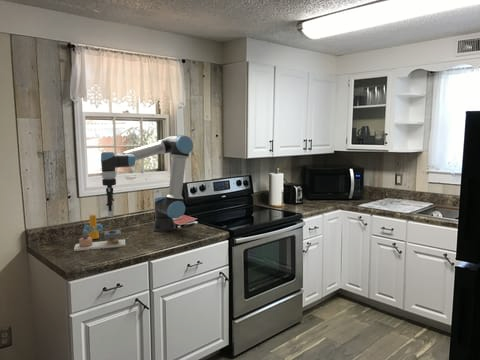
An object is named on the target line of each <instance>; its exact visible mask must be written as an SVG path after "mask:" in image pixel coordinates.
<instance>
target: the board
mask: <svg viewBox="0 0 480 360" xmlns="http://www.w3.org/2000/svg"><path fill="white" fill-rule="evenodd" d="M119 247H121V248H122V247H126V239H125V238H124V239H119V243H117V244H107V240H105V241H102V240H101V241H92V246H89V247H80V246H79V243H75V245H74V247H73V252H80V251H89V250H90V249H91V250H98V249H99V250H100V249H101V248H102V249H112V248H119ZM91 250H90V251H91Z"/></svg>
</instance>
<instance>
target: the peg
mask: <svg viewBox="0 0 480 360" xmlns="http://www.w3.org/2000/svg"><path fill="white" fill-rule="evenodd" d="M87 230H88V229H86V230H84V229H83V230H82V237H81V238H78V242H79V243H78V244H79V246H80V247H89V246H92V242H93V239H92V238H91V237H89V233H88V232H89V231H88V232H87Z"/></svg>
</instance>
